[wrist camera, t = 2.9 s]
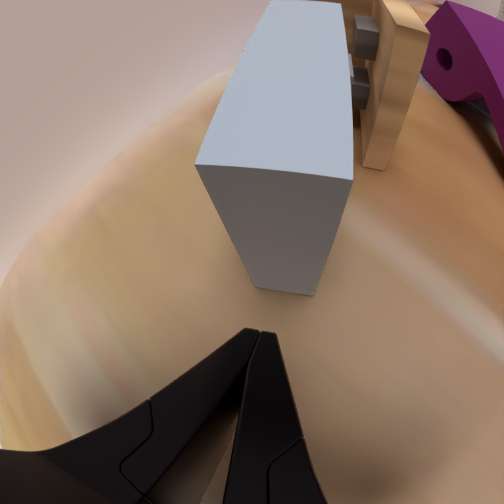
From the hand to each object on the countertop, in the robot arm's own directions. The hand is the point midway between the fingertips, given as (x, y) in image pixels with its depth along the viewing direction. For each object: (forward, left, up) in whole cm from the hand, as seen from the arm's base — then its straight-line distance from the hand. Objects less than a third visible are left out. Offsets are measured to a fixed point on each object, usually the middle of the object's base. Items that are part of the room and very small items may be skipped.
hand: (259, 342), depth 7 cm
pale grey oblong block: (+7, +3, -7) cm, 10 cm away
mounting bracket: (+25, -10, -7) cm, 28 cm away
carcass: (+15, +4, -7) cm, 17 cm away
